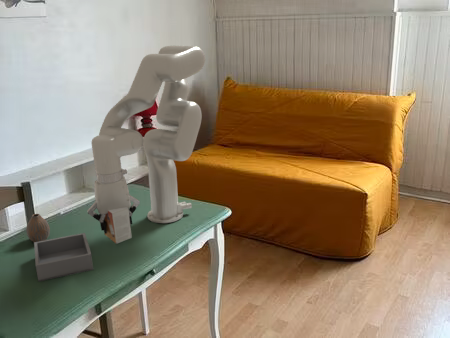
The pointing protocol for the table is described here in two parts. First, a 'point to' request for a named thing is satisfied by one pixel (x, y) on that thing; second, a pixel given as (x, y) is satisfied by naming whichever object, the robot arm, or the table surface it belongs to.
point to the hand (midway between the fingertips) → (117, 228)
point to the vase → (37, 228)
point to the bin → (62, 256)
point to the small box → (118, 224)
